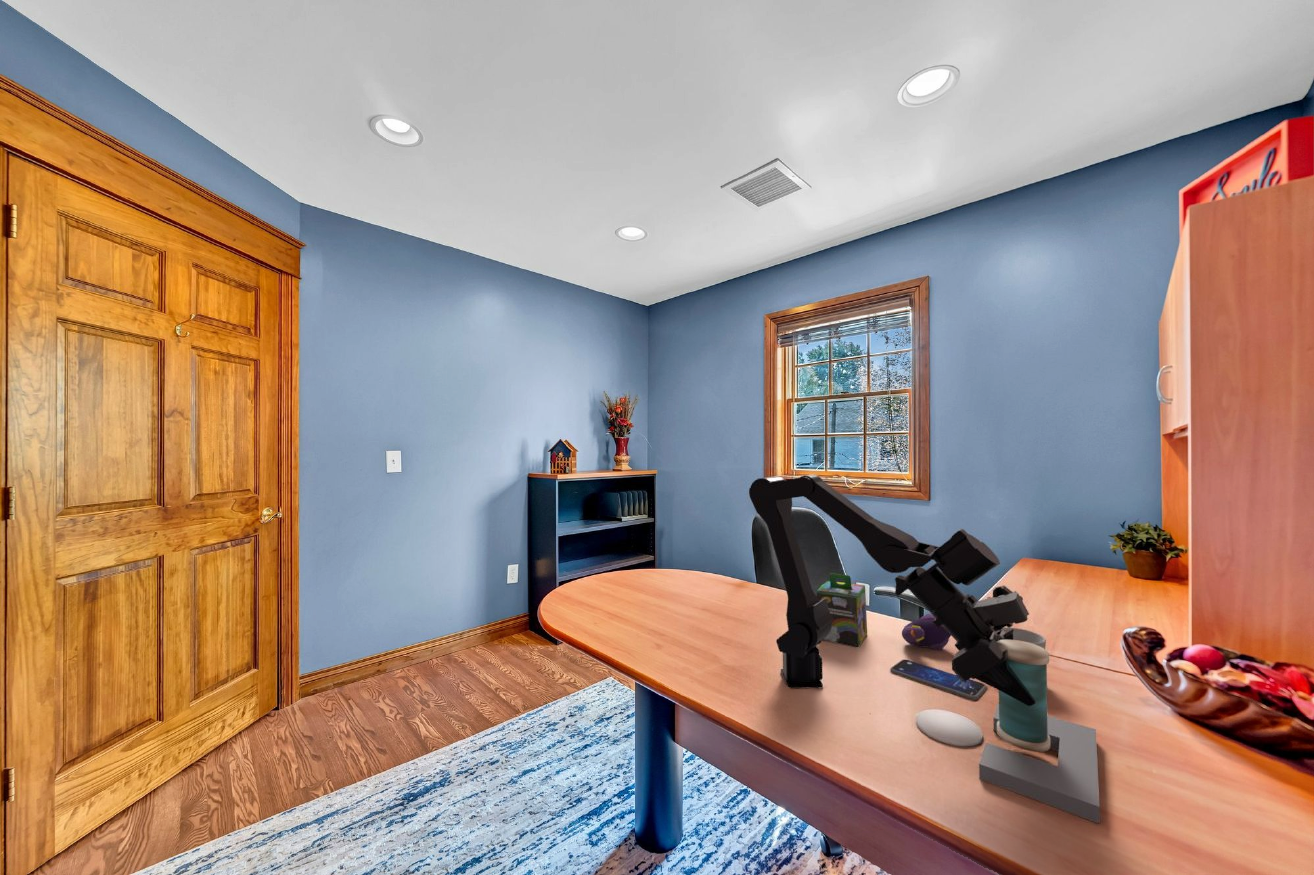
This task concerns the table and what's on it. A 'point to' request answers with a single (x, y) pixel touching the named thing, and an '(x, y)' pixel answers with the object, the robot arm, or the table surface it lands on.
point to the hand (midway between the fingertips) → (1034, 695)
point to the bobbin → (1015, 717)
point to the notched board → (1050, 769)
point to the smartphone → (939, 679)
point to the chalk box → (845, 610)
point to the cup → (1027, 636)
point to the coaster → (949, 727)
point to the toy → (926, 633)
